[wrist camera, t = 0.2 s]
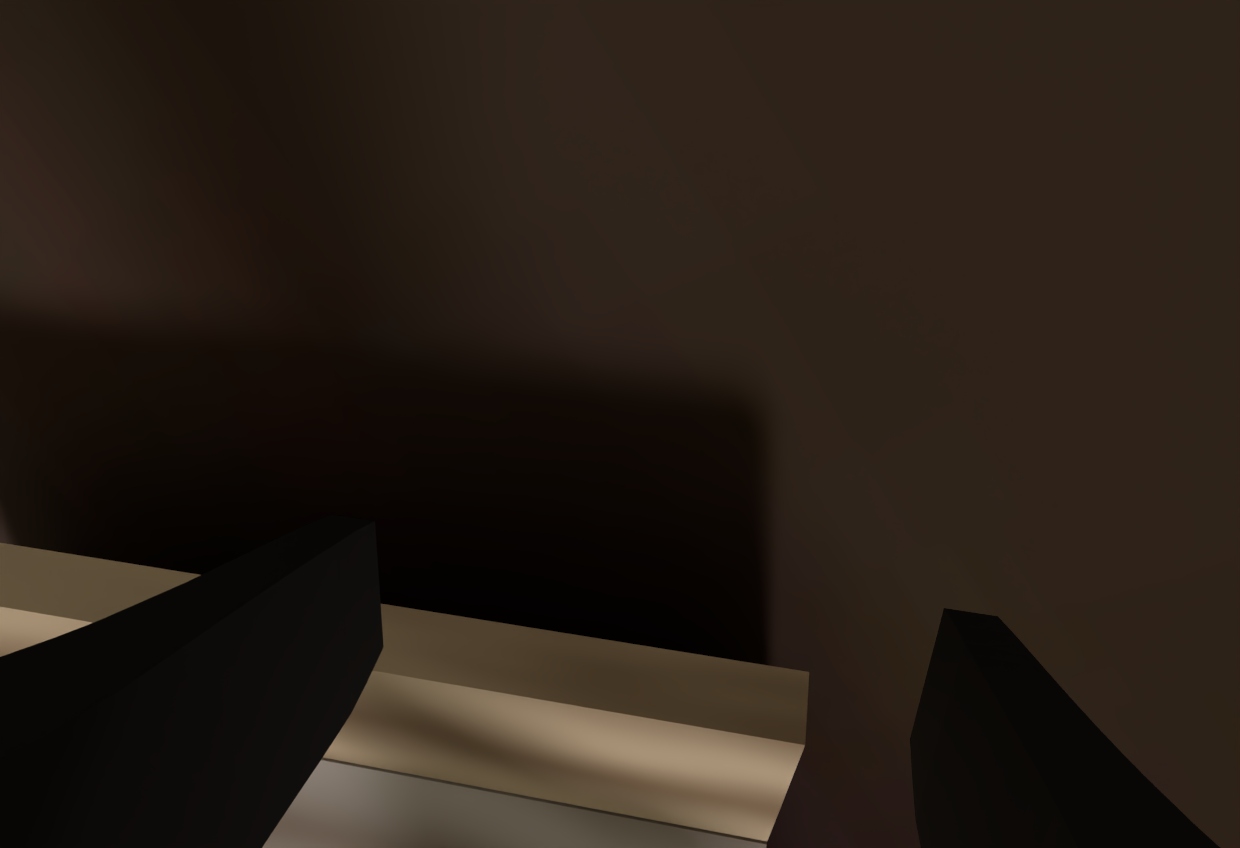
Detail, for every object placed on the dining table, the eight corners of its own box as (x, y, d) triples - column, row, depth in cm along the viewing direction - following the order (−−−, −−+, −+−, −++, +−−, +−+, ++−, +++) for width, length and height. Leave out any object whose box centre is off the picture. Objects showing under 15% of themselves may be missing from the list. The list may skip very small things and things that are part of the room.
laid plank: (738, 981, 28) (735, 1028, 27) (124, 850, 31) (94, 886, 30) (768, 800, 25) (766, 844, 23) (78, 674, 28) (41, 706, 27)
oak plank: (771, 784, 24) (767, 841, 23) (68, 657, 27) (40, 703, 26) (809, 671, 18) (805, 745, 17) (-111, 525, 21) (-155, 579, 20)
